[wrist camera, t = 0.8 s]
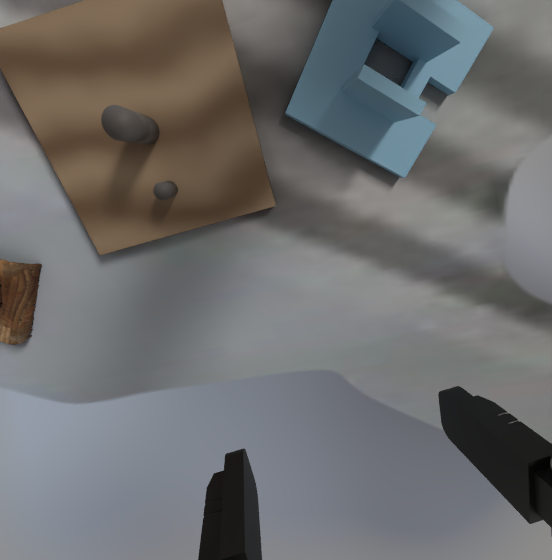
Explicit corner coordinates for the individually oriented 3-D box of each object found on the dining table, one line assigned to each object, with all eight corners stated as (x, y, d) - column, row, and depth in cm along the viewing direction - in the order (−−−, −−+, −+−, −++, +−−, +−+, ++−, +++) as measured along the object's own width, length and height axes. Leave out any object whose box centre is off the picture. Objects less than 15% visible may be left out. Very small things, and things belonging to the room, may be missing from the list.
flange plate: (284, 114, 29) (290, 103, 23) (357, -59, 24) (386, -126, 19) (399, 177, 32) (430, 181, 26) (484, 33, 27) (544, -1, 21)
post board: (-3, 41, 26) (-101, -3, 19) (213, -31, 24) (195, -106, 18) (106, 251, 33) (66, 275, 26) (275, 203, 32) (279, 216, 25)
